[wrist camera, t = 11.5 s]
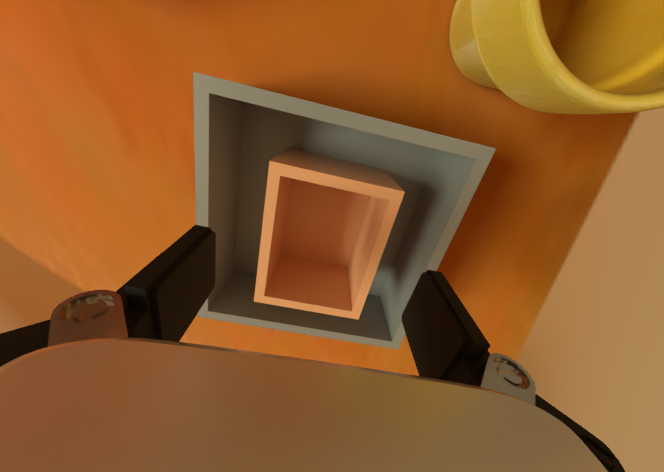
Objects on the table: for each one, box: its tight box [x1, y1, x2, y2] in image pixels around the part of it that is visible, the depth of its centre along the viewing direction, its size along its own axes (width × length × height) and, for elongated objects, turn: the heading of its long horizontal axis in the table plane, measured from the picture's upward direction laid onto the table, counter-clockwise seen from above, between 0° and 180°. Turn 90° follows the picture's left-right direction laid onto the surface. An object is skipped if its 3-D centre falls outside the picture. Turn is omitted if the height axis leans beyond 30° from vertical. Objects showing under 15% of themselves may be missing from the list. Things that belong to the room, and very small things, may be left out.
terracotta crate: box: [254, 147, 405, 320], centre depth 17 cm, size 9×7×6 cm
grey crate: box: [193, 72, 496, 349], centre depth 18 cm, size 15×15×6 cm
